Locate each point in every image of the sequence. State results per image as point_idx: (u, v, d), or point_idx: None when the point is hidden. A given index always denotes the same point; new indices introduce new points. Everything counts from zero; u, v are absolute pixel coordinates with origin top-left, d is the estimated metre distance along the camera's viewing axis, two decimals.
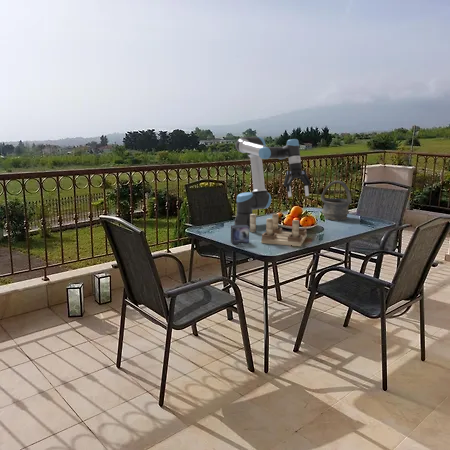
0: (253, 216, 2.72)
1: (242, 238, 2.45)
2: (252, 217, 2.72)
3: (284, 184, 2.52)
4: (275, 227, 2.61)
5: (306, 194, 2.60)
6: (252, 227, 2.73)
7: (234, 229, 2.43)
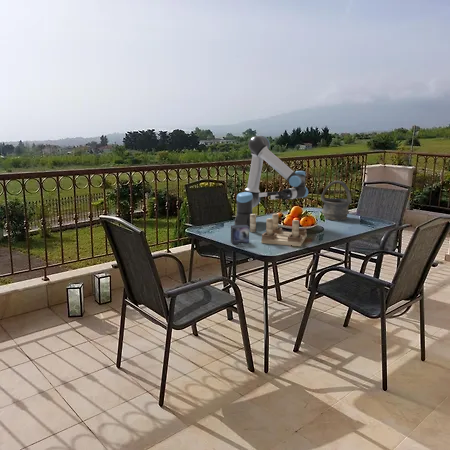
0: (253, 216, 2.72)
1: (242, 238, 2.45)
2: (252, 217, 2.72)
3: (283, 197, 2.71)
4: (275, 227, 2.61)
5: (260, 194, 2.81)
6: (252, 227, 2.73)
7: (234, 229, 2.43)
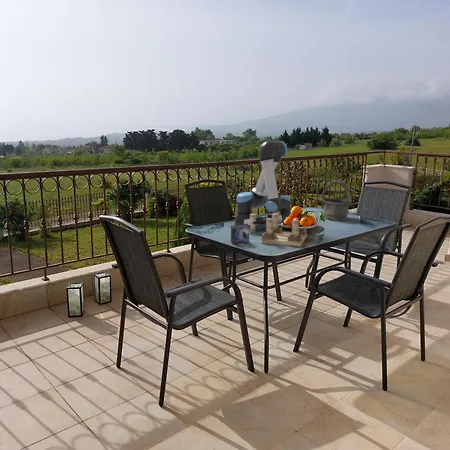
0: (253, 216, 2.72)
1: (242, 238, 2.45)
2: (252, 217, 2.72)
3: (260, 223, 2.71)
4: (275, 227, 2.61)
5: (245, 221, 2.74)
6: (252, 227, 2.73)
7: (234, 229, 2.43)
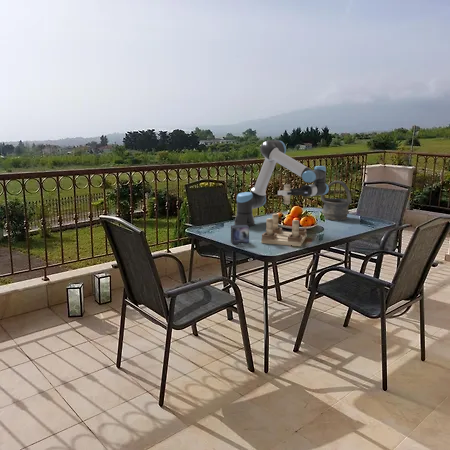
0: (287, 186, 2.53)
1: (242, 238, 2.45)
2: (286, 187, 2.54)
3: (295, 193, 2.53)
4: (275, 227, 2.61)
5: (279, 192, 2.56)
6: (286, 198, 2.55)
7: (234, 229, 2.43)
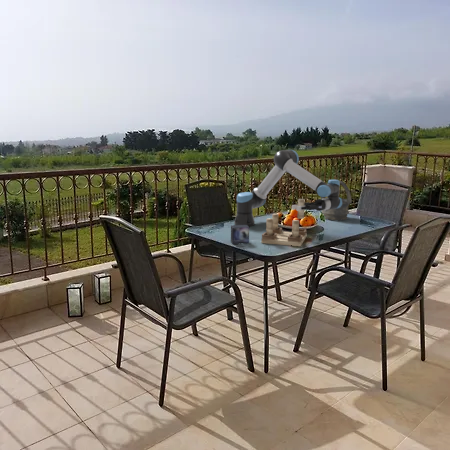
0: (302, 201, 2.51)
1: (242, 238, 2.45)
2: (301, 202, 2.52)
3: (310, 208, 2.51)
4: (275, 227, 2.61)
5: (293, 207, 2.53)
6: (300, 213, 2.53)
7: (234, 229, 2.43)
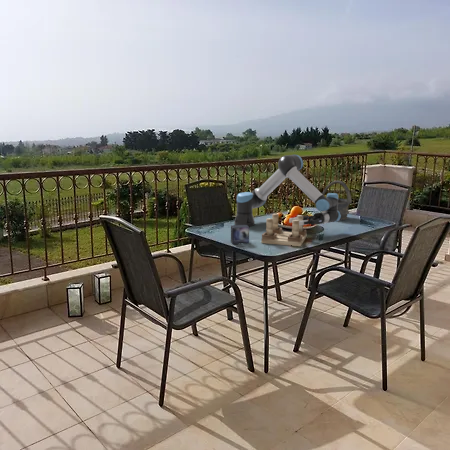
0: (300, 217, 2.54)
1: (242, 238, 2.45)
2: (299, 218, 2.54)
3: (312, 223, 2.51)
4: (275, 227, 2.61)
5: (290, 220, 2.58)
6: (299, 229, 2.56)
7: (234, 229, 2.43)
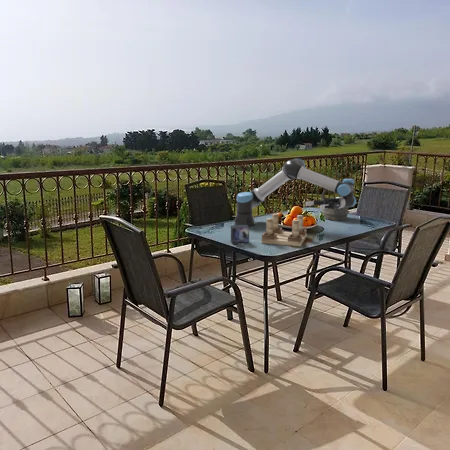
0: (301, 217, 2.54)
1: (242, 238, 2.45)
2: (299, 218, 2.54)
3: (333, 207, 2.54)
4: (275, 227, 2.61)
5: (307, 203, 2.65)
6: (299, 229, 2.56)
7: (234, 229, 2.43)
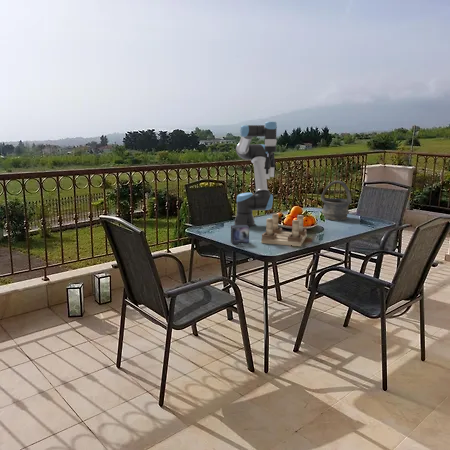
0: (301, 217, 2.54)
1: (242, 238, 2.45)
2: (300, 218, 2.54)
3: (266, 167, 2.58)
4: (275, 227, 2.61)
5: (271, 175, 2.75)
6: (299, 229, 2.56)
7: (234, 229, 2.43)
